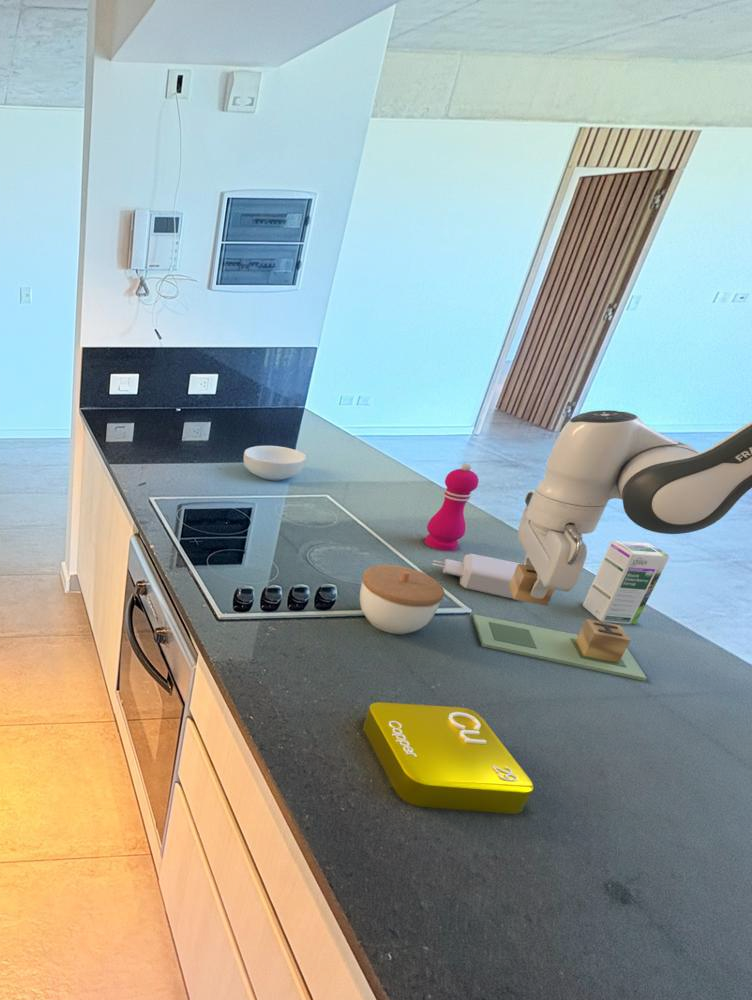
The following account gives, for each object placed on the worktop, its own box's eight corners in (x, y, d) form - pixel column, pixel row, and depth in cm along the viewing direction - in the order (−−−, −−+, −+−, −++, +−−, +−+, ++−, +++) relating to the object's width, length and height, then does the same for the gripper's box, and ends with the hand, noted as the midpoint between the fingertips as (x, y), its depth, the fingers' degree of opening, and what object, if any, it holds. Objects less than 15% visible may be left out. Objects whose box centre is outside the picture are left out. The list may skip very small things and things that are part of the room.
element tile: (357, 722, 90) (365, 697, 88) (465, 729, 89) (476, 704, 87) (401, 807, 77) (412, 780, 75) (529, 817, 76) (544, 790, 73)
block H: (609, 647, 104) (621, 624, 102) (618, 663, 101) (631, 639, 99) (575, 641, 106) (586, 618, 104) (583, 656, 102) (595, 632, 100)
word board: (622, 648, 106) (624, 643, 106) (644, 683, 98) (647, 677, 97) (472, 618, 114) (474, 613, 114) (481, 648, 106) (483, 642, 106)
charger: (430, 563, 133) (514, 582, 126) (428, 582, 126) (518, 602, 119) (436, 544, 131) (522, 561, 124) (435, 562, 124) (526, 581, 117)
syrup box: (600, 623, 113) (634, 553, 106) (580, 606, 118) (612, 538, 111) (635, 626, 112) (672, 556, 105) (613, 608, 117) (647, 541, 111)
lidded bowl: (445, 643, 108) (465, 589, 103) (376, 646, 107) (392, 592, 102) (402, 604, 119) (417, 554, 114) (339, 606, 118) (352, 556, 113)
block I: (540, 592, 105) (551, 568, 103) (547, 605, 102) (558, 581, 99) (508, 586, 107) (518, 562, 105) (514, 599, 103) (524, 575, 101)
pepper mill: (427, 536, 145) (453, 455, 136) (462, 546, 141) (491, 463, 132) (417, 546, 141) (443, 463, 132) (453, 556, 136) (483, 471, 127)
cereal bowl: (297, 469, 186) (301, 446, 183) (306, 489, 172) (311, 465, 169) (239, 465, 190) (242, 442, 187) (242, 484, 175) (246, 460, 172)
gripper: (610, 543, 88) (572, 623, 94) (569, 493, 104) (539, 564, 111) (556, 535, 90) (522, 614, 96) (525, 487, 107) (497, 557, 113)
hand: (531, 587), depth 104 cm, fingers closed on block I, 4 cm apart
